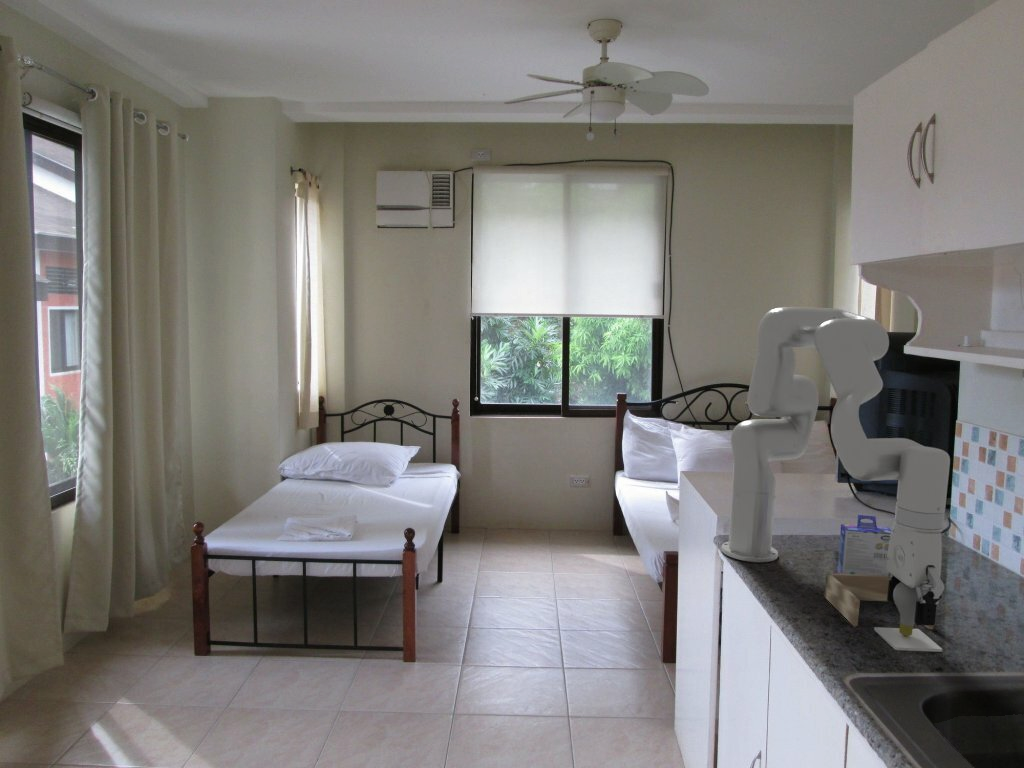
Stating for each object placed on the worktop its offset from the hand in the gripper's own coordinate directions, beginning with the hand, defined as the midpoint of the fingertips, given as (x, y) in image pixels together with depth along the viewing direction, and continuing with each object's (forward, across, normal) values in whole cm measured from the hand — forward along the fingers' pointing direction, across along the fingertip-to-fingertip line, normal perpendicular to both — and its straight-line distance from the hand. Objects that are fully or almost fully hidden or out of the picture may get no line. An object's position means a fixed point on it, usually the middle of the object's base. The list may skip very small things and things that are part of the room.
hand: (909, 612), depth 136 cm
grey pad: (+5, 0, 0) cm, 5 cm away
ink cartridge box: (+5, -27, +4) cm, 28 cm away
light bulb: (+5, -1, 0) cm, 5 cm away
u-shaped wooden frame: (+5, -12, 0) cm, 13 cm away
